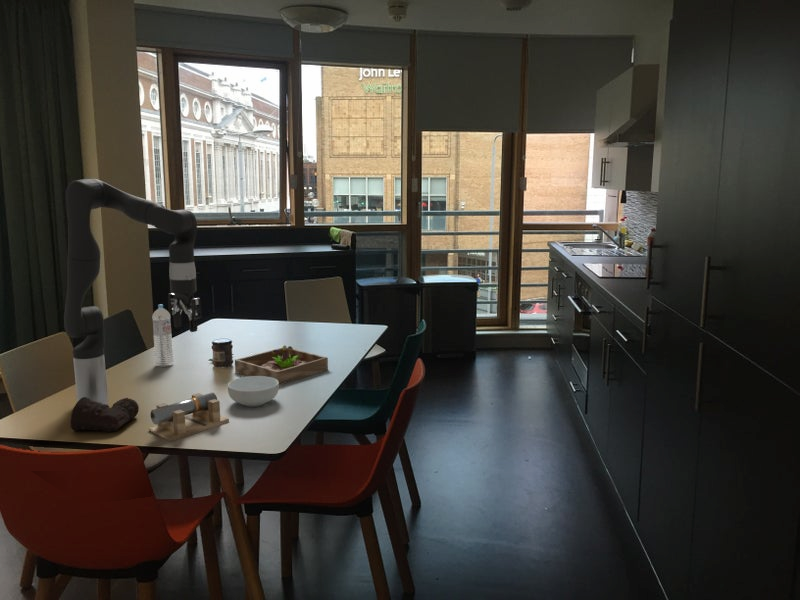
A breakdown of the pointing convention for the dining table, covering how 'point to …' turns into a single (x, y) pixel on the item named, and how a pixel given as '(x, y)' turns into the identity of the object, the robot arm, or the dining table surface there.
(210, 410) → the cradle board
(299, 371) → the planter box
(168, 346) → the water bottle
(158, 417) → the tube
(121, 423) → the dark brown boot
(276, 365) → the plant
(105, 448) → the dining table surface
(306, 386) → the dining table surface
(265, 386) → the cereal bowl
